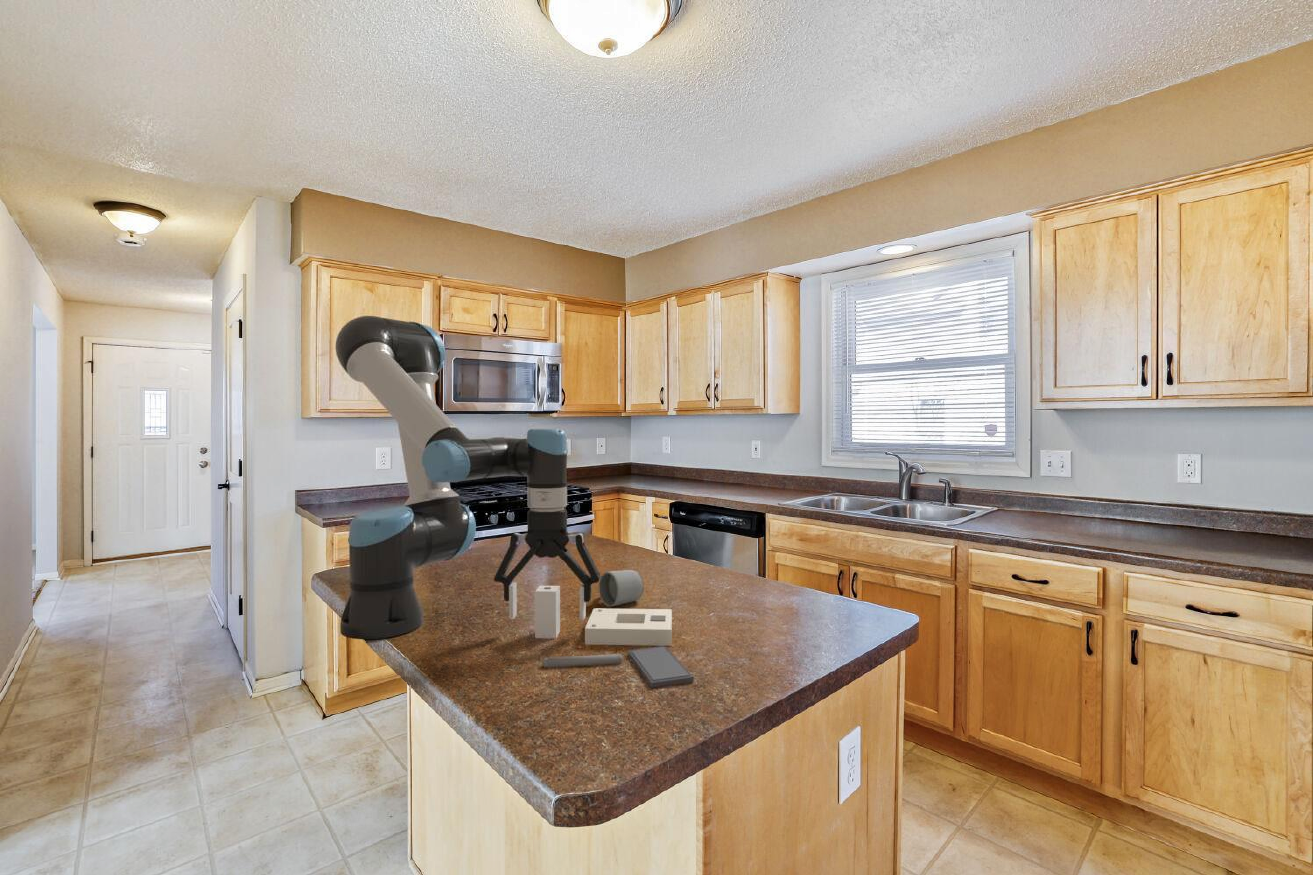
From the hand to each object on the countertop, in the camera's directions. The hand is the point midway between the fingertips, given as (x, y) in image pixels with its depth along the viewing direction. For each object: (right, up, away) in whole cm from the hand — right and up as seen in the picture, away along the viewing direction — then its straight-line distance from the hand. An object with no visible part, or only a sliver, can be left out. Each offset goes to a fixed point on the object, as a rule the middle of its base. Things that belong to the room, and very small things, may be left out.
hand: (547, 617), depth 118 cm
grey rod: (+9, -4, -14) cm, 17 cm away
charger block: (0, -3, 0) cm, 3 cm away
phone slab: (+22, -4, -16) cm, 27 cm away
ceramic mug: (+12, -3, +21) cm, 25 cm away
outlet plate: (+16, -3, +1) cm, 16 cm away
